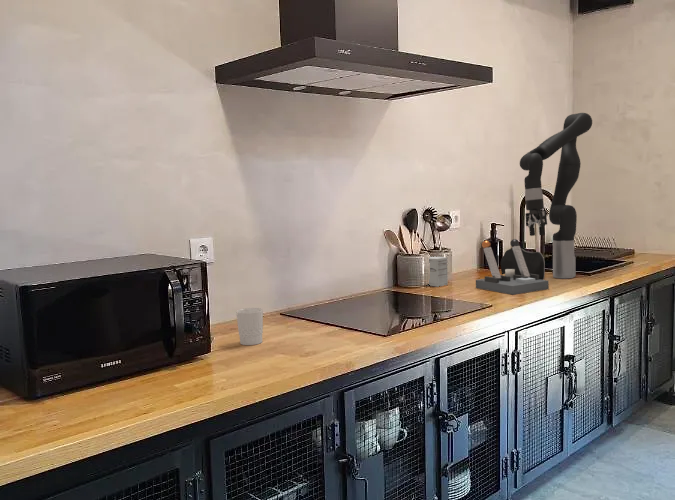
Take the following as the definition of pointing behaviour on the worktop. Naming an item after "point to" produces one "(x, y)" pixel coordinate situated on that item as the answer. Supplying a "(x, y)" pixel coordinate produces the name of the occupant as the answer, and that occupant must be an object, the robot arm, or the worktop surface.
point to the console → (513, 284)
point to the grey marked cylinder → (438, 271)
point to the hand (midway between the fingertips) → (537, 235)
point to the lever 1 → (491, 260)
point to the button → (510, 272)
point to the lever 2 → (519, 258)
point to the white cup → (250, 325)
